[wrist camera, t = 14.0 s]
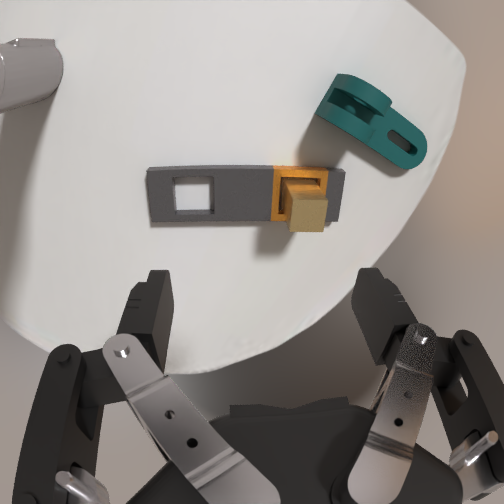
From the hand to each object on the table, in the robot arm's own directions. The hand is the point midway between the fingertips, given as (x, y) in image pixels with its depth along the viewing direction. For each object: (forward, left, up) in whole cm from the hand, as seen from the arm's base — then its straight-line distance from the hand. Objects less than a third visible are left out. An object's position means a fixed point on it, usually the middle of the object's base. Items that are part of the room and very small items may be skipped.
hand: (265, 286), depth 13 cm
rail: (+9, +1, -33) cm, 34 cm away
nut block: (+9, +8, -33) cm, 35 cm away
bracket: (-2, +20, -34) cm, 39 cm away
